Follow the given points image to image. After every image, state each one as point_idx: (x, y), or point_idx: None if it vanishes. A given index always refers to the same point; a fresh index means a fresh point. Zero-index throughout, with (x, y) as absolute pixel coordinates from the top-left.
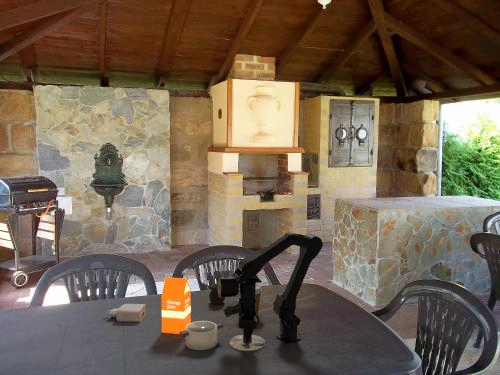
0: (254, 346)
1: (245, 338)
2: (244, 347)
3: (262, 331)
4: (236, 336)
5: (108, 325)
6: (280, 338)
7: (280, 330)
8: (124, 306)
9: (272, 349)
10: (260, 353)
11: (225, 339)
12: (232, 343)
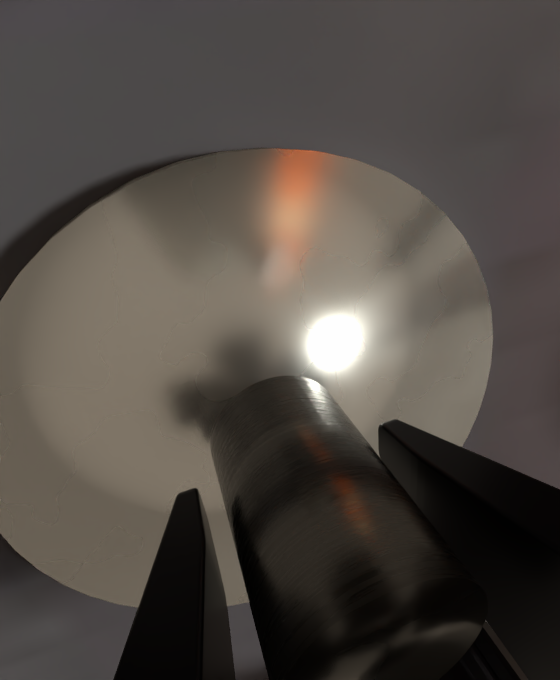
0: (132, 561)
1: (163, 533)
2: (42, 470)
3: (553, 454)
4: (438, 236)
5: None
6: None
7: (473, 663)
8: None
9: None
10: (2, 638)
11: (375, 23)
12: (141, 233)
